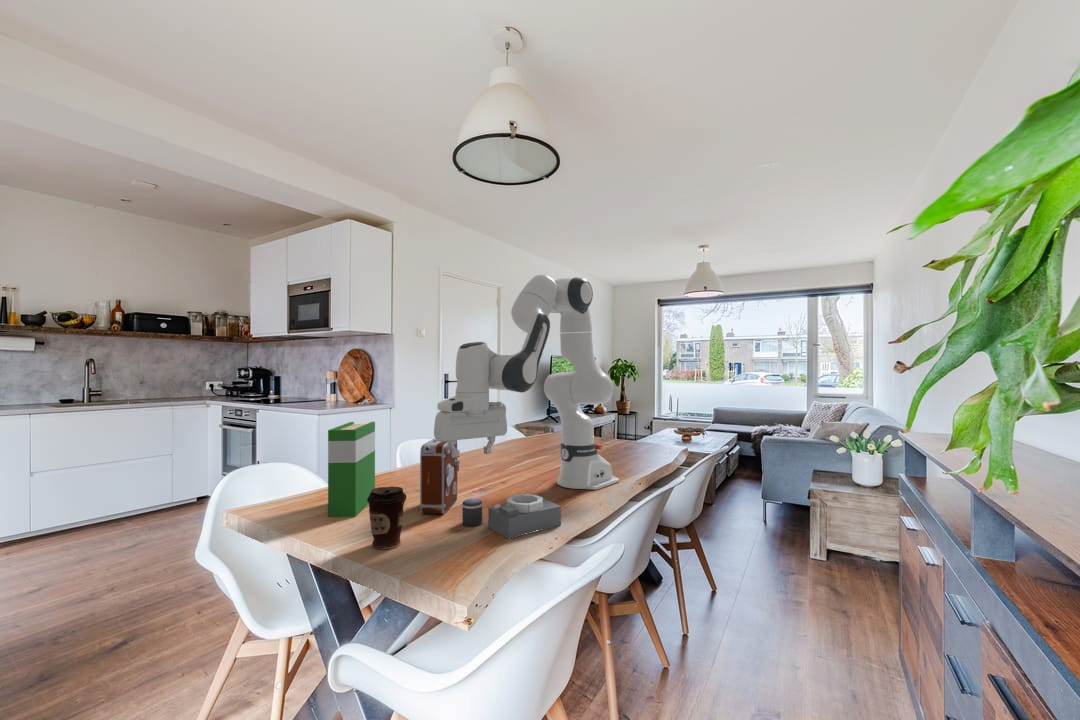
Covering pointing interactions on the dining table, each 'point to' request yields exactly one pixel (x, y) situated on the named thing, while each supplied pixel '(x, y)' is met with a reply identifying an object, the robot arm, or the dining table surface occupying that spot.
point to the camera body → (523, 515)
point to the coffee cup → (386, 516)
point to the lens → (472, 512)
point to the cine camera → (437, 477)
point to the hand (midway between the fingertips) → (471, 455)
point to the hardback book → (350, 468)
